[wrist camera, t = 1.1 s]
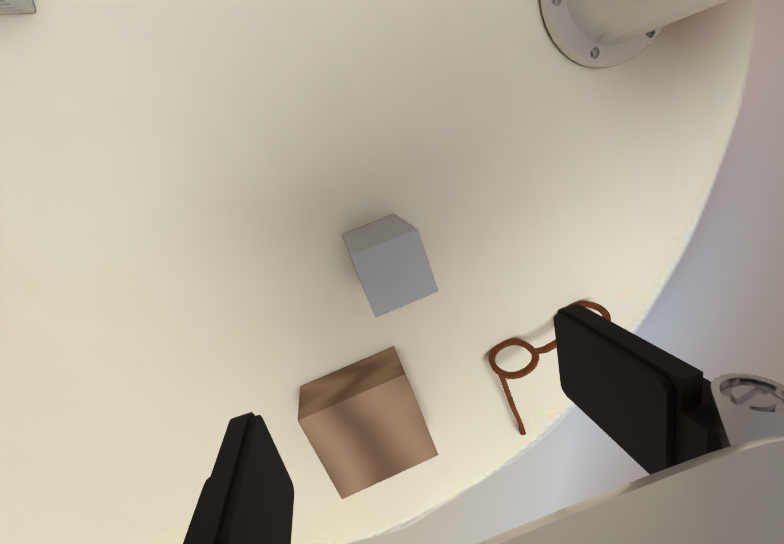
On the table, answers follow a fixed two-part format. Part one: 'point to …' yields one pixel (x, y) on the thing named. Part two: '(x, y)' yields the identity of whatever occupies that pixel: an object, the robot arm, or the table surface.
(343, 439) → the block
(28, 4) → the ink box
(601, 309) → the glasses
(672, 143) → the table surface
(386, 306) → the grey block
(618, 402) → the robot arm
